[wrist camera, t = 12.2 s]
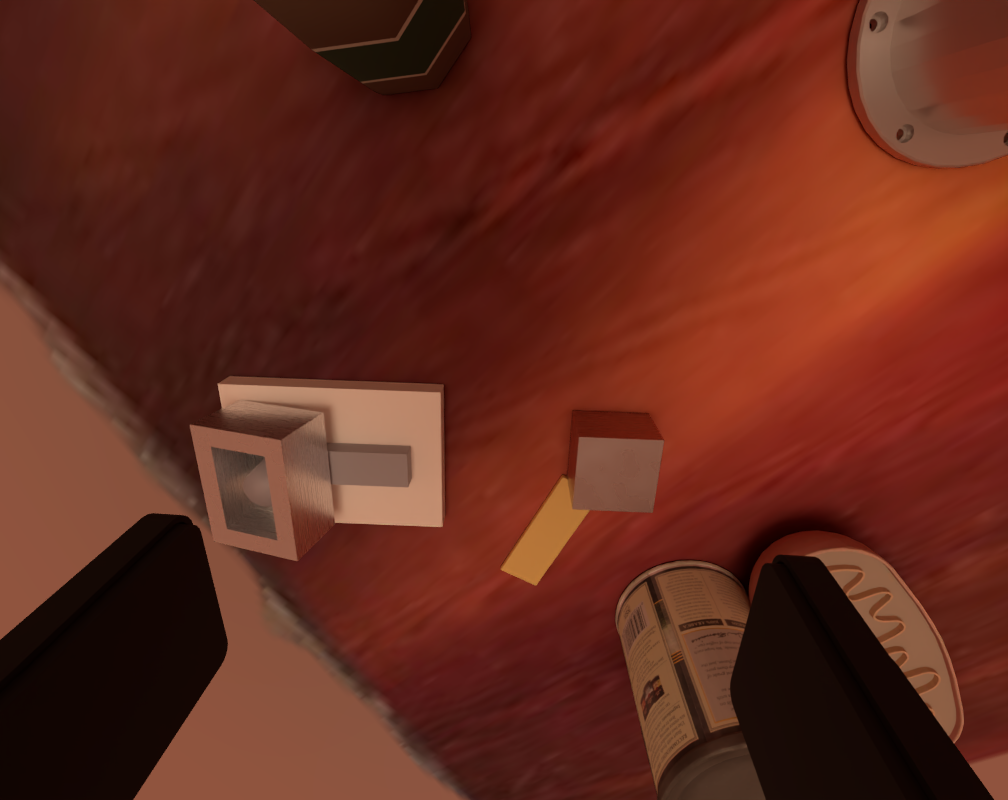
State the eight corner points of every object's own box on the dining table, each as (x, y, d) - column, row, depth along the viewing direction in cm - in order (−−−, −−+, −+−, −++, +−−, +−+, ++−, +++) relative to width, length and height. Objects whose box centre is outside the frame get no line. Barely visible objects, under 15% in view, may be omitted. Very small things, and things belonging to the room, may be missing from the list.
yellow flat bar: (562, 474, 37) (562, 477, 36) (599, 492, 37) (600, 495, 37) (500, 566, 40) (500, 569, 39) (535, 581, 40) (535, 585, 40)
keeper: (443, 384, 35) (430, 418, 29) (445, 514, 38) (433, 565, 33) (229, 376, 35) (180, 408, 30) (251, 506, 38) (211, 555, 33)
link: (323, 412, 32) (280, 440, 29) (335, 523, 35) (297, 561, 32) (240, 399, 34) (189, 424, 30) (258, 507, 37) (213, 541, 33)
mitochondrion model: (707, 540, 39) (733, 588, 34) (840, 477, 37) (887, 519, 32) (822, 728, 46) (857, 789, 41) (940, 684, 43) (991, 743, 39)
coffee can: (745, 658, 43) (846, 866, 30) (616, 665, 43) (658, 872, 30) (755, 553, 39) (875, 739, 26) (613, 562, 39) (660, 748, 26)
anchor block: (648, 413, 35) (664, 440, 31) (639, 479, 37) (652, 512, 33) (572, 410, 35) (579, 437, 31) (566, 476, 37) (572, 509, 33)
